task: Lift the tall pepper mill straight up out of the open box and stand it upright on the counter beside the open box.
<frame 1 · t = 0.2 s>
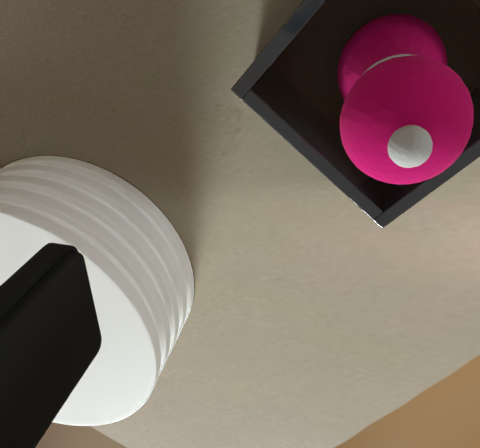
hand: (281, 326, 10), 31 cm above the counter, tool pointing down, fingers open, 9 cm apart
pepper mill: (387, 58, 35), resting in open box
plate stack: (83, 264, 54), on the counter
open box: (387, 59, 35), on the counter
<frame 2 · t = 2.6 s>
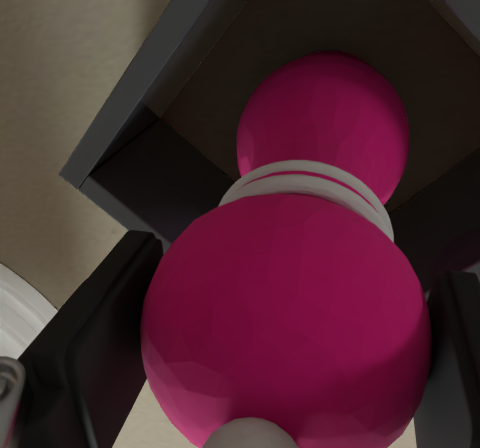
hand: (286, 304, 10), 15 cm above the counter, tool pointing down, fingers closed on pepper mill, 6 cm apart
pepper mill: (326, 112, 23), resting in open box, touching gripper
open box: (326, 113, 23), on the counter
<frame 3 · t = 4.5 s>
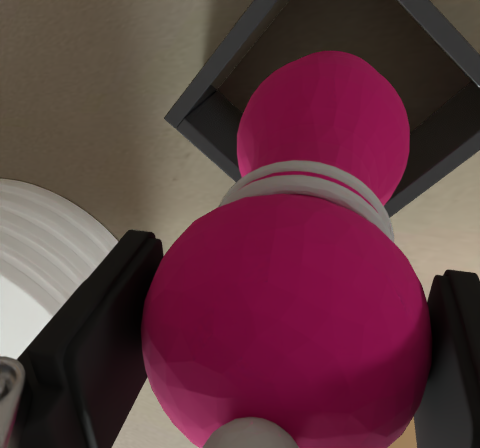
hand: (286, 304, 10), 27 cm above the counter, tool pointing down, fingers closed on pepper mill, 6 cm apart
pepper mill: (327, 113, 23), point 11 cm above the counter, touching gripper
plate stack: (38, 288, 52), on the counter
open box: (336, 85, 33), on the counter
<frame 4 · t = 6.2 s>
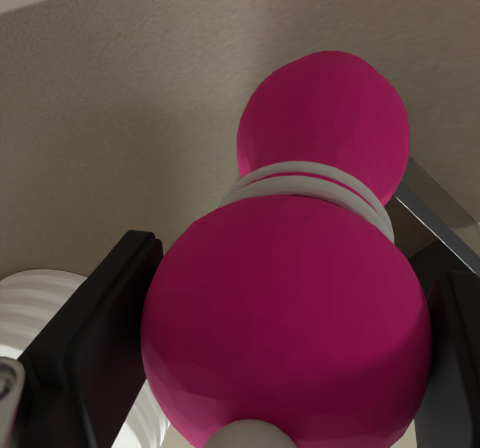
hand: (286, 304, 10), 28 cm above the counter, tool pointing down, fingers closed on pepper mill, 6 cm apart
pepper mill: (327, 113, 23), point 13 cm above the counter, touching gripper
plate stack: (82, 355, 59), on the counter
open box: (348, 219, 40), on the counter
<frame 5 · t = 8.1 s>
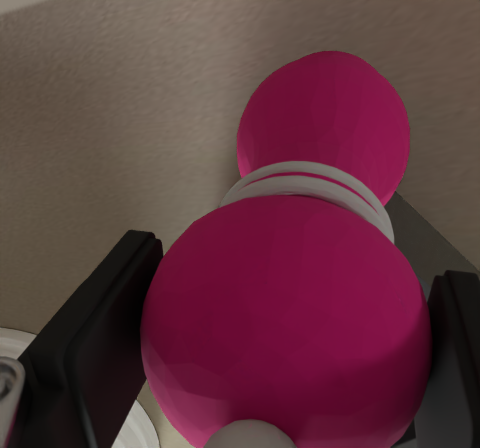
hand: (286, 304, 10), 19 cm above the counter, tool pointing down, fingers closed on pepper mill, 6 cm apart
pepper mill: (327, 113, 23), point 4 cm above the counter, touching gripper
plate stack: (46, 416, 52), on the counter
open box: (348, 288, 33), on the counter
when the fingers open (15 cm above the counter, at t = 9.6 s): pepper mill stays where it is, on the counter.
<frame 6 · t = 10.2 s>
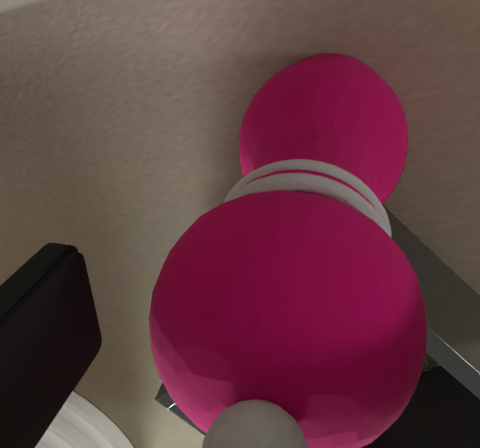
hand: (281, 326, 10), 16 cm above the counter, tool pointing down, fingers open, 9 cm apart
pepper mill: (327, 114, 24), on the counter
plate stack: (27, 445, 49), on the counter
open box: (346, 322, 30), on the counter
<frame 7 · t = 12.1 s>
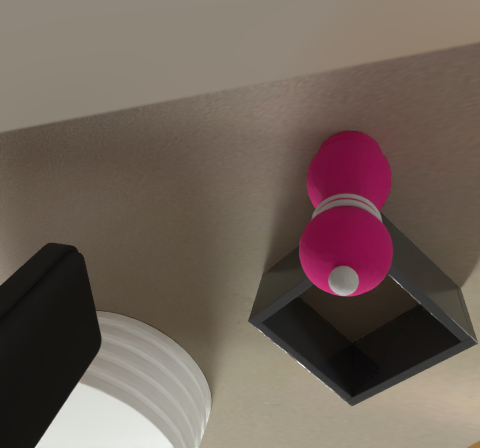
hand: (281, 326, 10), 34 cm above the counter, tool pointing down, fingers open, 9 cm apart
pepper mill: (349, 161, 43), on the counter
plate stack: (123, 381, 68), on the counter
open box: (356, 281, 49), on the counter
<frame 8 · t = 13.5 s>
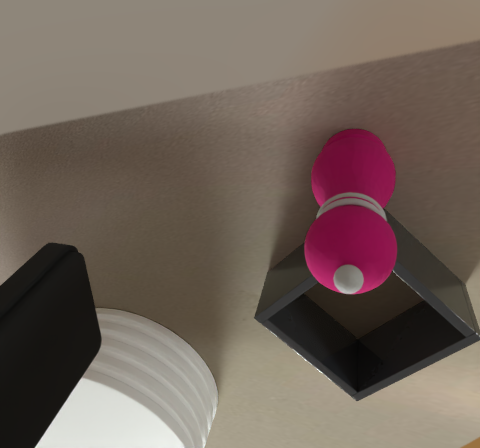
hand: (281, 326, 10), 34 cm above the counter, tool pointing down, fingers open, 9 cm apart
pepper mill: (353, 158, 43), on the counter
plate stack: (130, 377, 68), on the counter
open box: (361, 278, 50), on the counter
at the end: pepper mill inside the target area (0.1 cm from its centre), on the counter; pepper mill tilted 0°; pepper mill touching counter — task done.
